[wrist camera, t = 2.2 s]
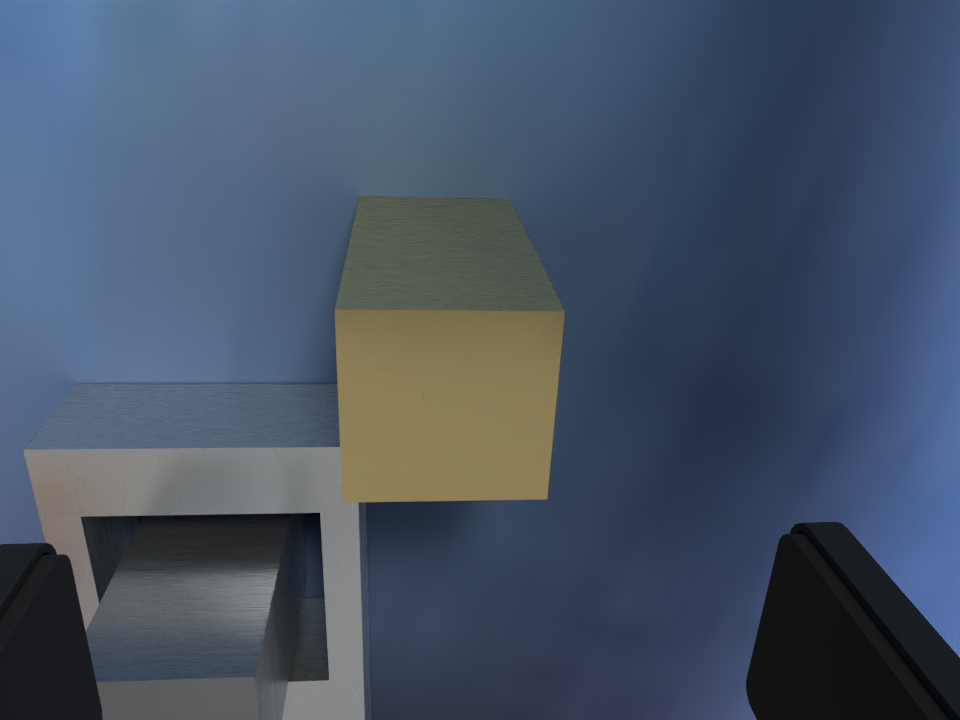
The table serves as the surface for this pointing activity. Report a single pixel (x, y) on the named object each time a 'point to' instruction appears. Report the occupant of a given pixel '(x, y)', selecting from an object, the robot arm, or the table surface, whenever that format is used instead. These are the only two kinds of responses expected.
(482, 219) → the brass block
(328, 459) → the grey block holder tray
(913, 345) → the table surface
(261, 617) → the seated steel block
